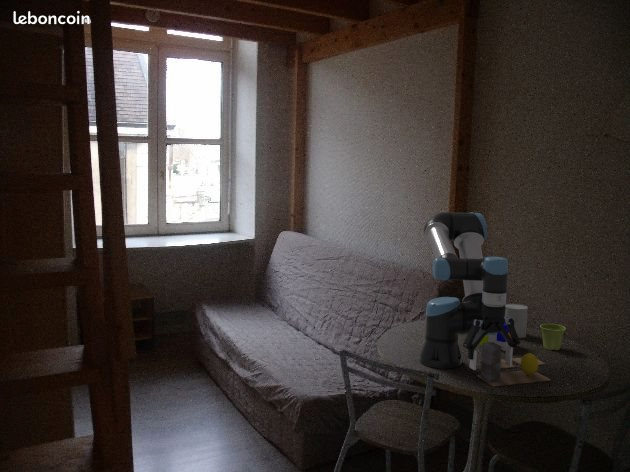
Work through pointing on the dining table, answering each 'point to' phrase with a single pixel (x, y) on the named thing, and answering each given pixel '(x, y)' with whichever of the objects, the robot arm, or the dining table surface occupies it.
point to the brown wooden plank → (517, 360)
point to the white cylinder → (518, 317)
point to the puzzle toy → (497, 338)
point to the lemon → (529, 364)
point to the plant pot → (552, 336)
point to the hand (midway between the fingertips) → (490, 367)
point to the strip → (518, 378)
